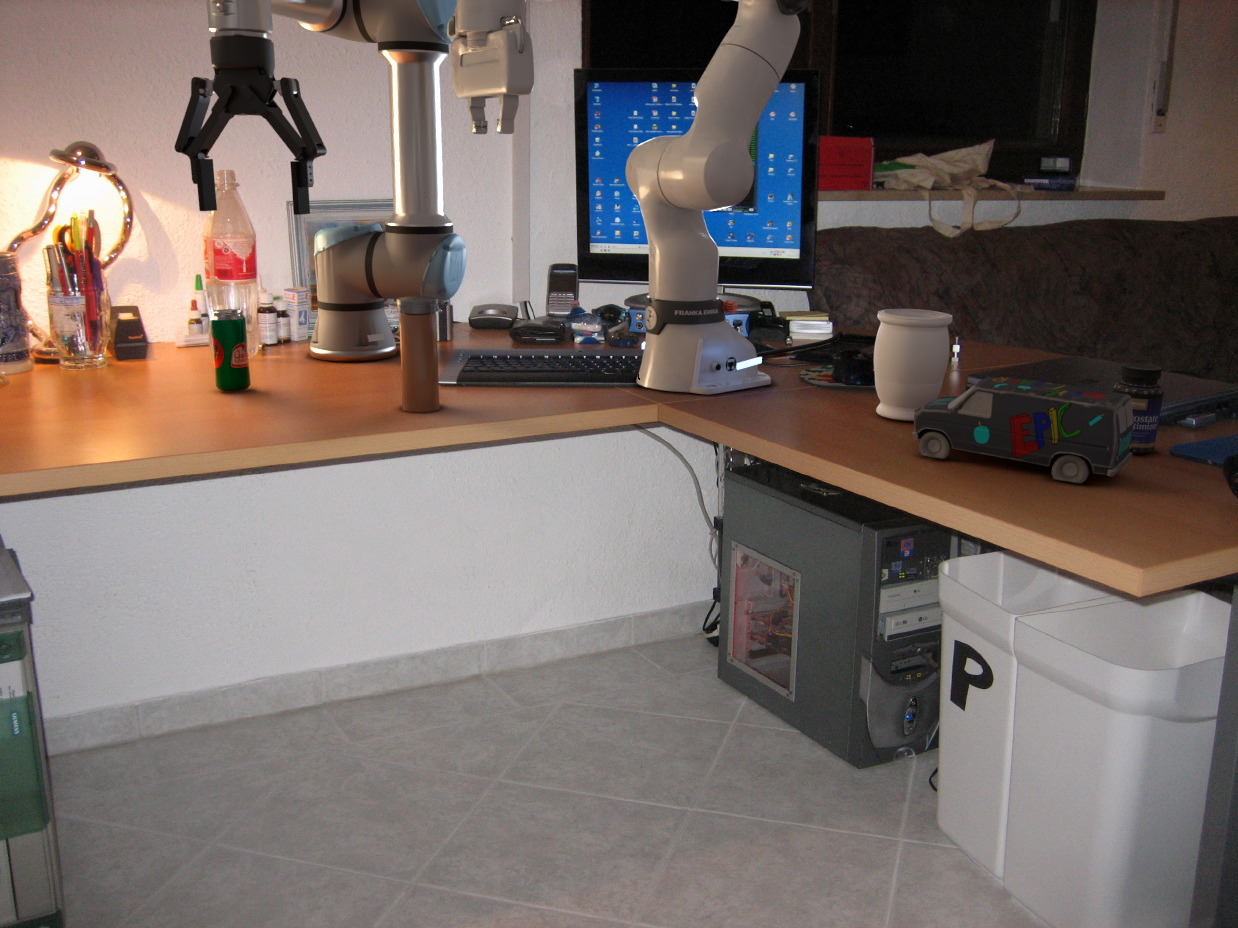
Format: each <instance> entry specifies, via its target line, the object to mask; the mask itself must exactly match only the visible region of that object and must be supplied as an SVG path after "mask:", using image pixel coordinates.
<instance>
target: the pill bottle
mask: <svg viewBox="0 0 1238 928" xmlns="http://www.w3.org/2000/svg"><path fill="white" fill-rule="evenodd" d="M1162 371H1163V367H1161V366H1158V365H1155V364H1149V363H1142V362H1141V363H1140V362H1126V363H1122V365H1121V369H1120V375H1121V380H1119V381H1116V382H1115V383H1114V384H1113V385H1112V388H1111V392H1115V393H1121V394H1127V395H1129V396H1131V401H1132V410H1133V418H1134V426H1135V427H1134V430H1133V436H1132V441H1131V448H1130V451H1129V452H1131V453H1133V454H1140V455H1141V454H1148V453H1151V452H1153V451H1154V450H1155V448H1156V440H1157V435H1158V428H1159V424H1160V419H1161V418H1160V417H1161V412H1162V407H1163V399H1164V395H1165V391H1164V389H1163V387H1162V386H1161V385H1159V383H1158V381H1159V380H1160V379H1161V377H1162Z"/></svg>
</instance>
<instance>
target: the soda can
mask: <svg viewBox="0 0 1238 928" xmlns="http://www.w3.org/2000/svg"><path fill="white" fill-rule="evenodd" d="M209 323H210V334H211V346H212V355H213V356H212V357H213V358H212V359H213V368H214V379H215V380H214V381H215V387H216V388H217V389H218V390H219V391H221V392H227V393H232V392H234V393H236V392H242V391H246V390H248V389H249V388H250V387H251V373H250V371H251V370H250V360H249V359H250V358H249V357H250V356H249V346H248V334H247V321H246V317H245V315H244V314H243V310H241V309H236V308H235V309H234V308H229V309H228V308H227V309H225V308H224V309H216V310H212V312H211V317H210V319H209Z"/></svg>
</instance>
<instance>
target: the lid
mask: <svg viewBox="0 0 1238 928" xmlns="http://www.w3.org/2000/svg"><path fill="white" fill-rule="evenodd" d="M396 311H397V312H398V313H399V312H400V313H407V314H427V313H435V312H437V313H438V312H439V301H438V298H435V297H426V296H410V297H401V298H397V299H396Z"/></svg>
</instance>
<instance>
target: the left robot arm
mask: <svg viewBox="0 0 1238 928" xmlns="http://www.w3.org/2000/svg"><path fill="white" fill-rule="evenodd" d="M456 6H457V0H206V10H207V24H208V30H209V31H210V32H211V33H212V34H213V33H214V36H211V37H210V39H209V49H210V60H211V61H210V64H211V66H212V68H213V71H214V77H213V79H209V78H208V77H207V78H206V77H199V76H193V77H191V80H190V84H191V85H190V97H189V101H188V103H187V107H186V109H185V113H184V116H183V119H182V122H181V126H180V128H179V131H178V134H177V138H176V141H175V144H174V151H175V152H176V153H177V154H183V155H185V156H187V157H188V159H189V163H190V173H191V181H192V183H193V184H194V185H196V186H197V199H198V210H199V212H213V211H218V206H217V205H218V204H217V193H216V192H217V191H216V182H215V179H216V178H215V169H214V159H213V158H210V155H209V153H210V151H211V149H212V148H213V147H214V146H215V144H216V142H217V141H218V139H219V137H220V136H221V134H222V133H223V131H224V130H225V127H226V126H227V125H228V123H229V122H230V120H232V119H233V118H235V116H257V117H259V116H260V117H261V118H262V119H265V120H266V122H267V123H268V124H269V126H271V128H272V129H273V131H274V132H275V133H276V134H277V136H278V137H279V138H280V140H281V141H282V142H283V143H284V144H285V146H286V147H287V148H288V150H289V151H290V153H291V154H292V155H293V157H294V158H293V161H291V160H290V176H291V177H290V178H291V193H292V207H293V210H292V211H293V215H294V216H302V215H311V205H310V204H311V203H310V189H309V188H314V184H315V180H314V177H315V176H314V161H315V159H318V158H320V157H323V156H326V155H327V154H328V153H327V152H328V150H327V147H326V145H325V143H324V141H323V139H322V137H321V135H320V133H319V131H318V129H317V127H316V125H315V123H314V121H313V118H312V116H311V113H310V112H309V110H308V108H307V106H306V104H305V102H304V99H303V98H302V93H301V87H300V82H299V80H298V79H297V78H294V77H293V78H292V77H285V76H283V77H281V78H280V79H276V77H275V69H276V59H275V56H276V55H275V45H274V42H273V41H272V39H270V38H269V36H272V35H273V34H274V29H273V28H274V27H273V26H274V25H273V16H276V17H281V18H284V19H289V20H294V21H296V22H297V23H298V24H299V25H300V26H301V27H302V28H304V29H306V30H308V31H311V32H316V33H320V34H324V35H327V36H331V37H334V38H339V39H343V40H346V41H351V42H357V43H363V44H365V43H366V44H377V54H378V55H379V57H380V58H381V59H383V61H385V63H386V65H387V77H388V100H389V101H388V102H389V103H388V104H389V122H390V123H389V127H390V129H389V130H390V149H391V150H390V153H391V179H392V181H391V182H392V200H393V201H392V203H393V204H392V205H393V212H392V213H391V215H390V216H388V218H387V220H386V221H385V222H384V225H385V226H384V227H385V228H384V230H385V231H383V228H382V226H381V224H380V223H379V222H371V223H362V224H354V225H344V226H336V227H335V226H334V227H327V228H321V229H319V230H318V231H317V232H316V233H315V235H314V246H313V247H314V249H313V258H314V269H315V280H316V284H315V285H316V297H317V310H318V311H317V316H316V321H315V323H314V327H313V331H312V335H311V338H310V342H309V355H310V356H311V357H312V358H314V359H317V360H323V361H331V362H366V361H376V360H382V359H387V358H390V357H394V356H395V355H396V354H397V342H396V339H395V337H394V334H395V333H397V332H398V331H399V326H398V327H397V328H395V327H393V328H392V329H391V328H390V322H389V320H388V317H387V314H386V311H385V299H387V300H397V298H401V297H410V296H426V297H435V298H438V302H444V301H448V300H451V299H452V298H453V297H454V296H455V295H456V294H457V292H458V291H459V289H460V287H461V285H462V283H463V281H464V276H465V273H466V267H467V247H466V246H465V244H466V242H465V240H464V239H463V237H462V236H461V235H460V234H457V233H456V232H455V233H454V222H453V221H452V220H451V219H450V218H449V217H448V215H446V212H445V201H444V197H445V196H444V194H445V193H444V163H443V160H444V157H443V124H442V122H443V121H442V120H443V119H442V86H441V83H442V82H441V66H442V64H443V63H444V62H445V61H446V60H447V59H448V58H449V56H450V45H452V42H453V40H455V39H449V38H448V35H447V25H448V22H449V20H450V19H451V17H452V16H453V14H454V12H455V7H456ZM214 94H215V95H216V96H217V97H218V98H217V100H216V101H215V103H213V106H212V107H211V113H210V114H209V116H208V117H207V119H206V121H205V118H206V116H207V113H208V110H209V106H210V103H211V100H212V99H211V98H212V97H213V95H214ZM277 94H279V96H280V97H281V98H282V100H283V102H284V105H285V107H286V109H287V111H288V113H289V115H290V117H291V119H292V121H293V124H294V126H295V127H294V126H293V125H292V123H291V122H290V121H289V120H288V119H287V118H286V116H285V115H284V111H283V110H282V109H281V106H279V105H278V103H277V102H276V101H275V97H276V95H277ZM204 121H205V122H204ZM295 128H296V129H297V130H296V129H295Z"/></svg>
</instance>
